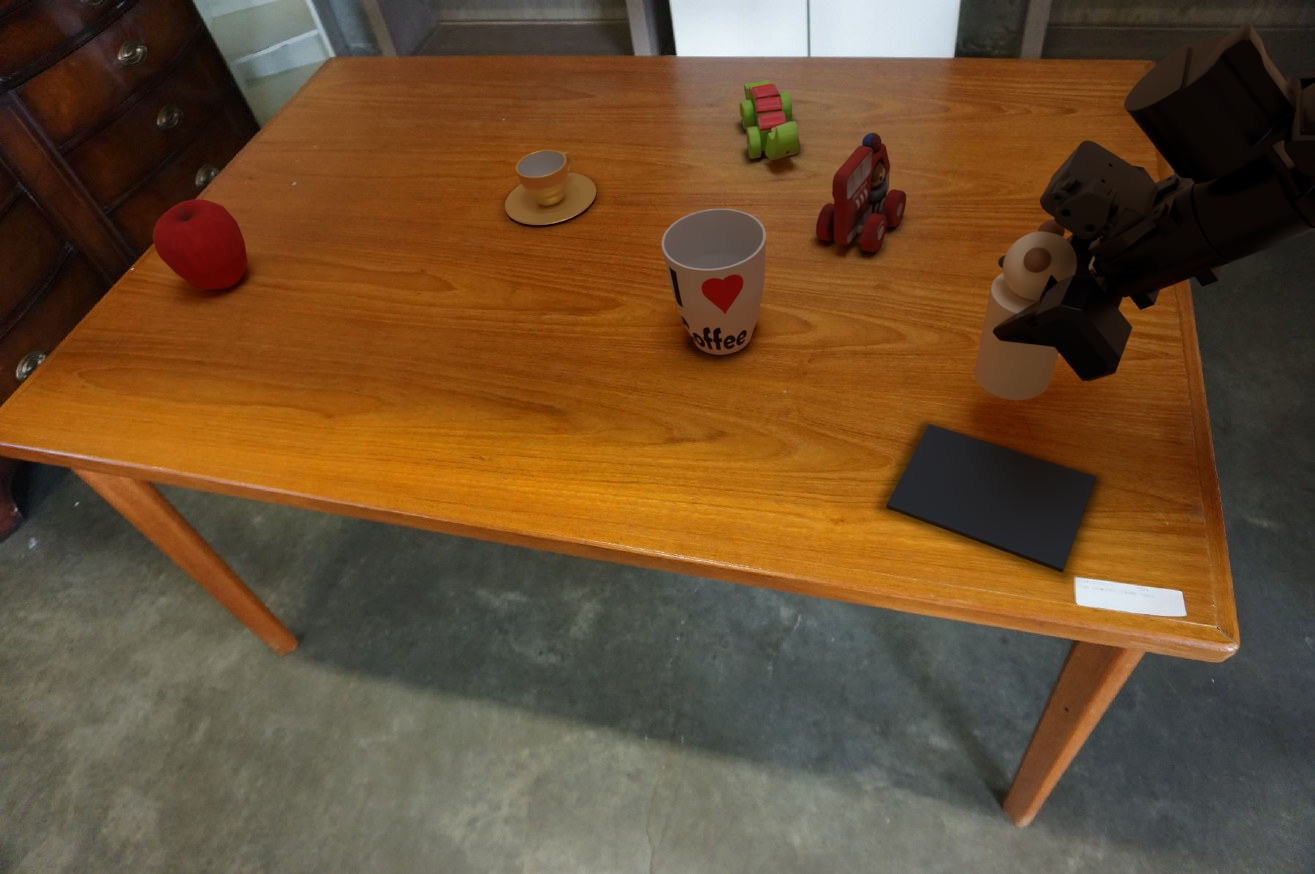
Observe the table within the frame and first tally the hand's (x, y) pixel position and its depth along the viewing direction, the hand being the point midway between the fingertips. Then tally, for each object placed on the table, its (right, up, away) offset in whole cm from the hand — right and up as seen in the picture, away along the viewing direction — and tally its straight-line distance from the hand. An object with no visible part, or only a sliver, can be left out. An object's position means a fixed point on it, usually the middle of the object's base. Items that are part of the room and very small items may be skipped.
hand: (1008, 310), depth 66 cm
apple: (-82, +10, +40) cm, 92 cm away
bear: (+2, -5, +4) cm, 7 cm away
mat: (0, -15, +3) cm, 15 cm away
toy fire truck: (-4, +14, +30) cm, 33 cm away
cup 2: (-21, 0, +21) cm, 30 cm away
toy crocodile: (-13, +30, +45) cm, 56 cm away
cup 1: (-42, +20, +42) cm, 63 cm away
